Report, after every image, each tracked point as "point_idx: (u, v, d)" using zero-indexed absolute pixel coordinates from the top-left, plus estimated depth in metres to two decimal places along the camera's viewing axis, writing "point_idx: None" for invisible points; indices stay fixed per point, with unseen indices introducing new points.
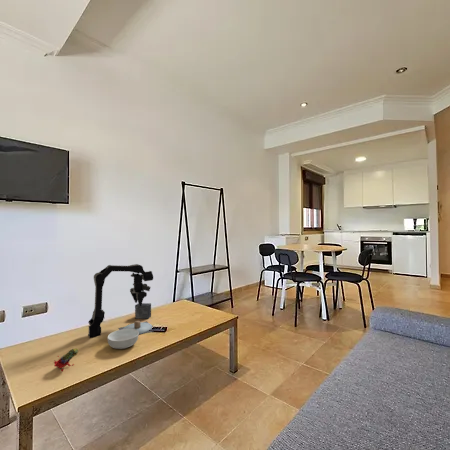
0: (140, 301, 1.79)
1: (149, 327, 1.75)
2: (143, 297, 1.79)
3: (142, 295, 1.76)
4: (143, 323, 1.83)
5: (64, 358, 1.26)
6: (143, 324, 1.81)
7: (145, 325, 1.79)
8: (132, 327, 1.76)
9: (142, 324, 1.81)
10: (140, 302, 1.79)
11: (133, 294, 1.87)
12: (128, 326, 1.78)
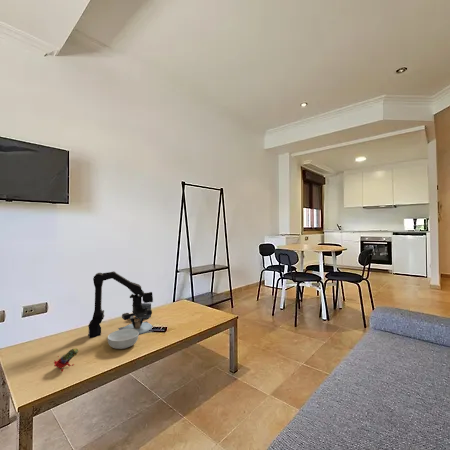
0: (132, 322, 1.74)
1: (149, 327, 1.75)
2: (131, 319, 1.72)
3: (122, 317, 1.70)
4: (143, 323, 1.83)
5: (64, 358, 1.26)
6: (143, 324, 1.81)
7: (145, 325, 1.79)
8: (132, 327, 1.76)
9: (142, 324, 1.81)
10: (132, 323, 1.74)
11: None
12: (128, 326, 1.78)
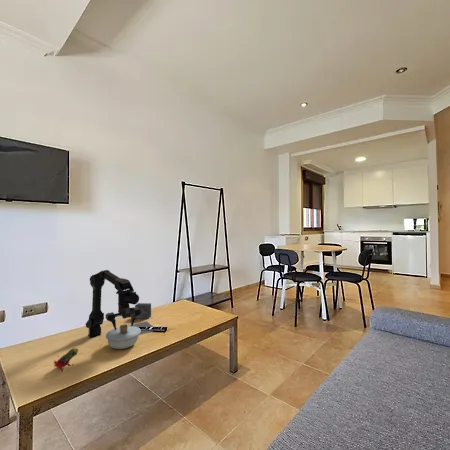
0: (113, 324, 1.49)
1: (137, 332, 1.52)
2: (112, 321, 1.47)
3: (106, 317, 1.46)
4: (131, 327, 1.59)
5: (64, 358, 1.26)
6: (131, 328, 1.57)
7: (133, 329, 1.55)
8: (118, 332, 1.52)
9: (129, 328, 1.58)
10: (113, 326, 1.49)
11: (131, 315, 1.56)
12: (113, 330, 1.54)
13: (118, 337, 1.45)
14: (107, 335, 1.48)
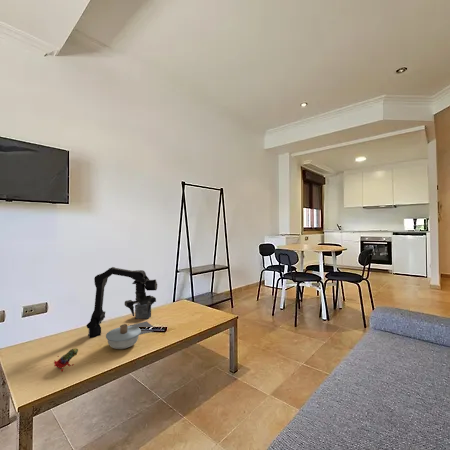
0: (131, 311, 1.64)
1: (137, 332, 1.52)
2: (130, 308, 1.62)
3: (125, 304, 1.61)
4: (131, 327, 1.59)
5: (64, 358, 1.26)
6: (131, 328, 1.57)
7: (133, 329, 1.55)
8: (118, 332, 1.52)
9: (130, 328, 1.58)
10: (131, 312, 1.64)
11: None
12: (113, 331, 1.54)
13: (118, 337, 1.45)
14: (107, 335, 1.48)
